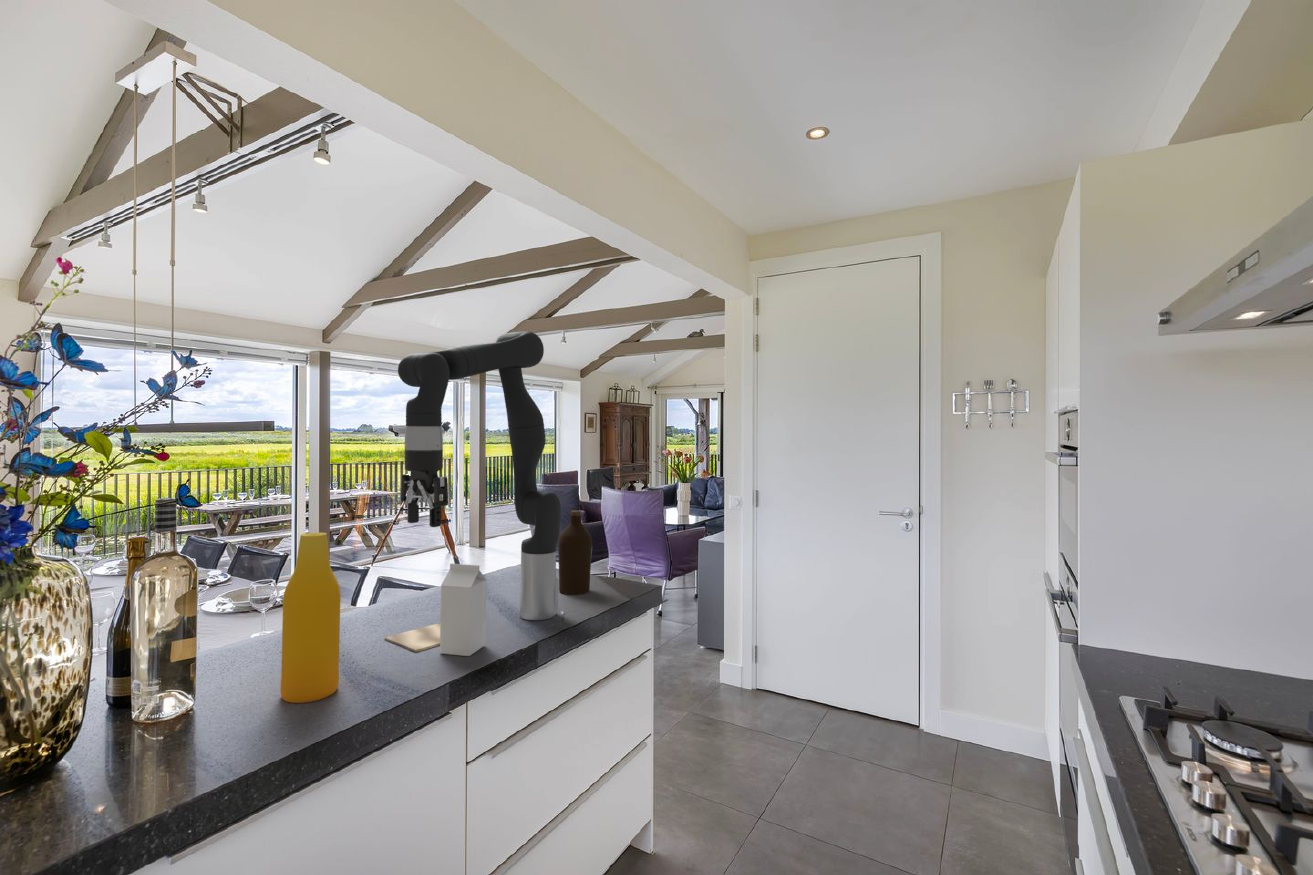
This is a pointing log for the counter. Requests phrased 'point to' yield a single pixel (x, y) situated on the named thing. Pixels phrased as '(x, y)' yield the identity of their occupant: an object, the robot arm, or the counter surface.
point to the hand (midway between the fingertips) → (424, 524)
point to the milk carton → (463, 610)
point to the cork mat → (418, 638)
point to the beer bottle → (311, 625)
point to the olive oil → (574, 557)
